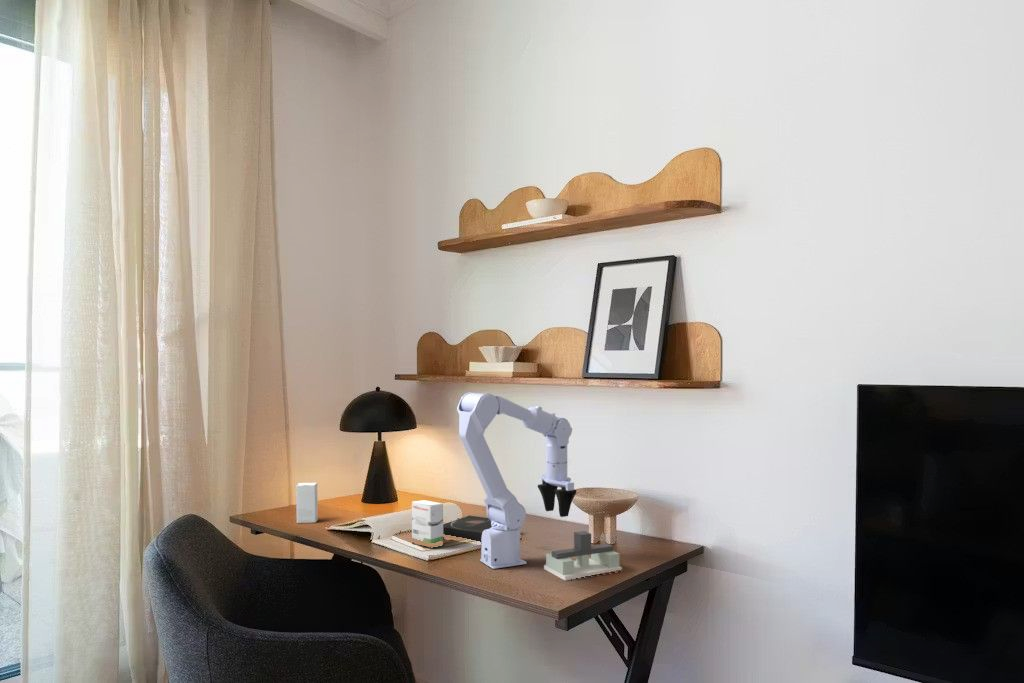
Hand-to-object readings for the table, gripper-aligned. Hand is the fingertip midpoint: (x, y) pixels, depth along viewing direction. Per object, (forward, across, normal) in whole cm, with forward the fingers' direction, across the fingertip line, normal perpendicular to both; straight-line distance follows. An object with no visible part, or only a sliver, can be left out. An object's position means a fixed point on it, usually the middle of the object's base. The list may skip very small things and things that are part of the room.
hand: (556, 513), depth 183 cm
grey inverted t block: (+6, -16, +2) cm, 17 cm away
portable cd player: (+11, +26, +12) cm, 31 cm away
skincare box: (+11, +66, +53) cm, 85 cm away
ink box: (+11, +23, +28) cm, 38 cm away
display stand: (+10, -16, +2) cm, 19 cm away
